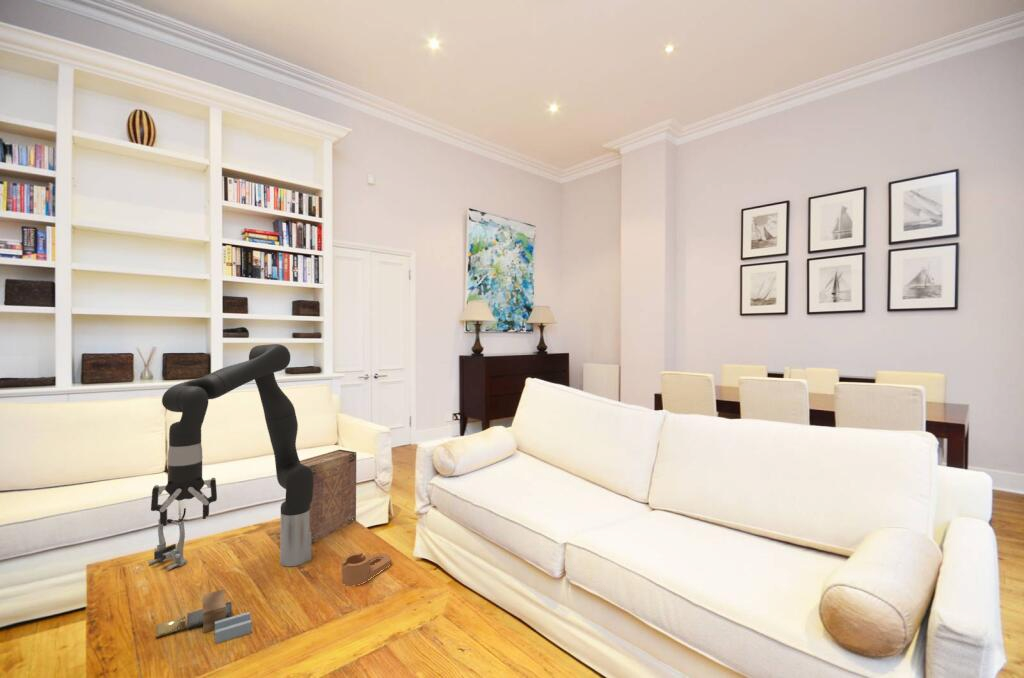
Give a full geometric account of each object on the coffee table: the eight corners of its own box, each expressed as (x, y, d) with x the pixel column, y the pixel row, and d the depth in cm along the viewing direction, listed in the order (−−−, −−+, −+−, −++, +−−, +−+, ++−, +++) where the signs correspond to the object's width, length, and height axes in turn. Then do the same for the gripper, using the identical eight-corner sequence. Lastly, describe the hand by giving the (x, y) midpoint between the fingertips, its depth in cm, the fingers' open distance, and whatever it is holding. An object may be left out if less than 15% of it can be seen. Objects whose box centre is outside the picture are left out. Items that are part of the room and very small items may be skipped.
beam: (224, 607, 132) (224, 589, 132) (225, 626, 123) (225, 606, 123) (202, 613, 129) (203, 594, 129) (203, 632, 121) (203, 612, 121)
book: (304, 549, 167) (305, 467, 167) (287, 544, 171) (287, 464, 171) (356, 524, 190) (356, 451, 190) (339, 520, 194) (340, 449, 194)
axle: (230, 612, 130) (230, 598, 130) (231, 619, 127) (231, 605, 127) (187, 624, 124) (187, 610, 124) (187, 632, 121) (187, 617, 121)
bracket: (355, 590, 142) (355, 568, 142) (336, 583, 146) (336, 561, 145) (395, 565, 157) (396, 544, 157) (377, 559, 161) (378, 539, 161)
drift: (185, 626, 124) (185, 614, 124) (184, 631, 121) (184, 619, 121) (156, 634, 120) (157, 622, 121) (156, 639, 118) (156, 627, 118)
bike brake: (192, 564, 156) (192, 506, 156) (171, 574, 149) (171, 513, 149) (165, 557, 161) (165, 500, 160) (143, 566, 154) (144, 507, 154)
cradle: (249, 621, 125) (249, 611, 125) (251, 632, 121) (251, 621, 121) (214, 632, 121) (214, 621, 121) (215, 643, 116) (215, 632, 116)
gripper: (217, 454, 130) (216, 511, 130) (153, 461, 122) (153, 522, 122) (216, 460, 123) (216, 520, 123) (149, 468, 116) (149, 532, 116)
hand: (185, 521), depth 123 cm, fingers open, 8 cm apart
